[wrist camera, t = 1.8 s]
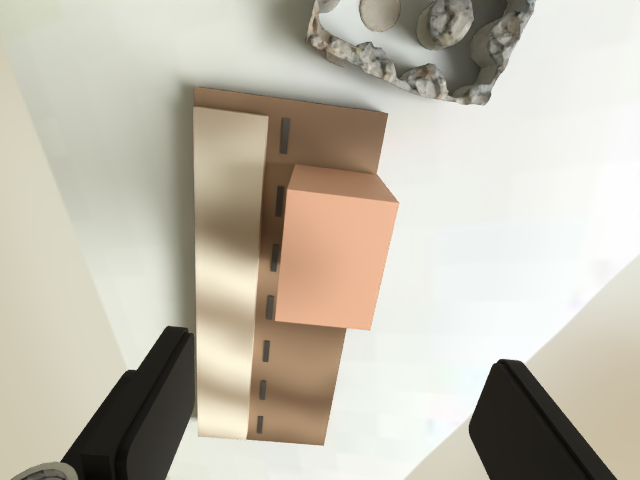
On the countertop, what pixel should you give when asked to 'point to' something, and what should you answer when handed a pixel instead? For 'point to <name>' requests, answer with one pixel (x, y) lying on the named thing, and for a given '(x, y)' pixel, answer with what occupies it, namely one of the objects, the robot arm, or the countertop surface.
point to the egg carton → (429, 44)
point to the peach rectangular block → (334, 247)
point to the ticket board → (263, 261)
